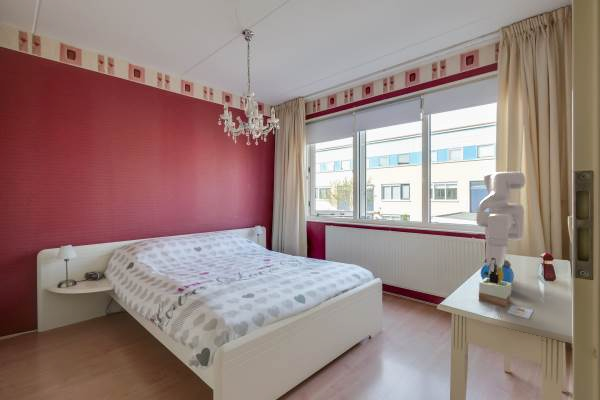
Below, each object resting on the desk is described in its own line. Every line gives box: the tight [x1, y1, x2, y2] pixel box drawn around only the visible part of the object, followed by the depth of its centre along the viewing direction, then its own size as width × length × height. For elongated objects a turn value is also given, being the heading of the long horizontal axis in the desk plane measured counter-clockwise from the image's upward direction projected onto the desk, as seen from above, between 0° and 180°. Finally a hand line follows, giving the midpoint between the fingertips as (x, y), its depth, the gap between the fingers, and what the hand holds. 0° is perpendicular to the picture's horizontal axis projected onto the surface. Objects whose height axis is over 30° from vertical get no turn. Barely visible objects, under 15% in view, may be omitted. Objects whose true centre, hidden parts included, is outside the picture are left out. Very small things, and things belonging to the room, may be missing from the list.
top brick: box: [478, 278, 513, 299], centre depth 126 cm, size 10×10×4 cm
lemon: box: [489, 266, 504, 282], centre depth 126 cm, size 6×6×8 cm
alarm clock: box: [480, 258, 515, 283], centre depth 143 cm, size 13×6×15 cm, turn 38°
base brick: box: [478, 291, 512, 309], centre depth 126 cm, size 10×10×4 cm
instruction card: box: [506, 305, 534, 320], centre depth 116 cm, size 10×7×1 cm
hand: (495, 280), depth 126 cm, fingers closed on lemon, 5 cm apart
